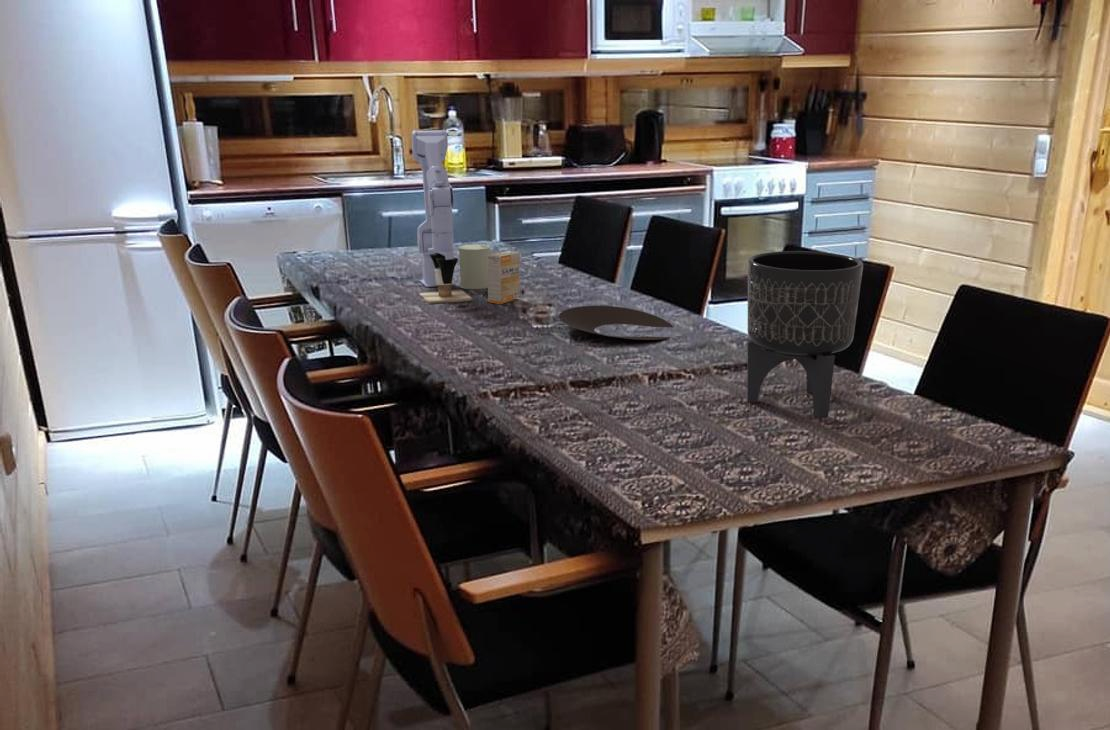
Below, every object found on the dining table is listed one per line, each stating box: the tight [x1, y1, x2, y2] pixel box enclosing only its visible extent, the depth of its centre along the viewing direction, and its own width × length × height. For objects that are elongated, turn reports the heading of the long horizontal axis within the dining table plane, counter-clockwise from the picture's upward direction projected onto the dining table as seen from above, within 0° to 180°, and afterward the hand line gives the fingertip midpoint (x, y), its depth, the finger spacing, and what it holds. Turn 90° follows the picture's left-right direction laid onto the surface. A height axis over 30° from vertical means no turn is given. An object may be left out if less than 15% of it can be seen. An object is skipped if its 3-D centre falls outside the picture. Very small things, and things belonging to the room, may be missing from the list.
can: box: [458, 243, 491, 290], centre depth 273 cm, size 9×9×12 cm
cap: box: [434, 268, 454, 286], centre depth 258 cm, size 5×5×4 cm
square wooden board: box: [418, 285, 473, 305], centre depth 260 cm, size 12×12×4 cm
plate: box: [558, 305, 675, 341], centre depth 224 cm, size 28×28×4 cm
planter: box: [746, 250, 864, 419], centre depth 169 cm, size 20×20×26 cm
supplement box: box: [487, 250, 521, 305], centre depth 254 cm, size 8×5×13 cm, turn 143°
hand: (444, 281), depth 259 cm, fingers open, 6 cm apart
